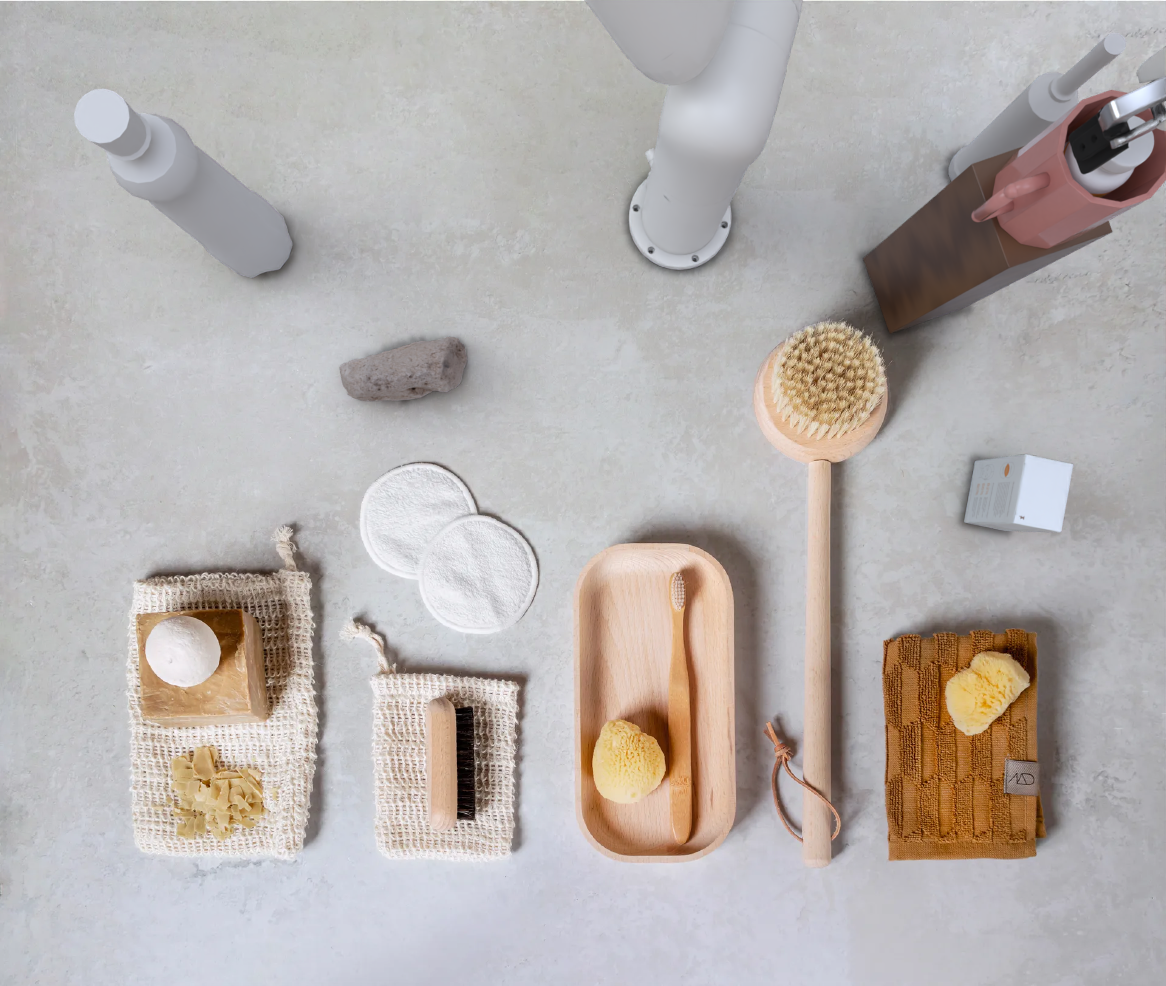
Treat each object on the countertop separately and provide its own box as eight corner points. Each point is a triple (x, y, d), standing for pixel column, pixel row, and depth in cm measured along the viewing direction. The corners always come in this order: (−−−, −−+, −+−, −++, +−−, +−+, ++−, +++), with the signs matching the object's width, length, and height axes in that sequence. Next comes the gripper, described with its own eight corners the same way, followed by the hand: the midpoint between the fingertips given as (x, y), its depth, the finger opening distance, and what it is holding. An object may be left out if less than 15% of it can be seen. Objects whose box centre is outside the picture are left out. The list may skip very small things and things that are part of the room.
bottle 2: (995, 164, 90) (1154, 34, 66) (973, 199, 90) (1124, 82, 65) (960, 142, 91) (1105, 4, 66) (938, 177, 90) (1075, 51, 65)
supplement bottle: (1086, 180, 65) (1176, 123, 55) (1061, 234, 65) (1146, 187, 55) (1031, 154, 65) (1111, 92, 55) (1006, 208, 65) (1082, 156, 55)
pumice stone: (466, 337, 90) (452, 316, 80) (471, 398, 90) (458, 385, 80) (344, 348, 90) (315, 329, 80) (349, 409, 90) (321, 397, 80)
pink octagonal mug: (943, 179, 65) (1001, 127, 56) (1072, 134, 65) (1151, 75, 56) (976, 273, 65) (1040, 236, 56) (1106, 228, 65) (1190, 184, 56)
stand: (862, 258, 90) (971, 163, 65) (938, 232, 90) (1075, 127, 65) (889, 333, 90) (1009, 268, 65) (965, 307, 90) (1113, 231, 65)
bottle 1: (284, 199, 90) (137, 46, 60) (307, 268, 90) (171, 150, 60) (214, 222, 90) (31, 80, 60) (237, 291, 90) (65, 185, 60)
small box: (1005, 531, 90) (1062, 535, 79) (961, 522, 90) (1012, 524, 79) (1018, 468, 90) (1076, 463, 79) (973, 459, 90) (1026, 453, 79)
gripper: (1532, -163, 37) (1230, 48, 54) (1215, -54, 37) (1013, 124, 54) (1584, -25, 37) (1265, 143, 54) (1266, 85, 37) (1047, 218, 54)
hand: (1139, 133), depth 54 cm, fingers open, 9 cm apart
